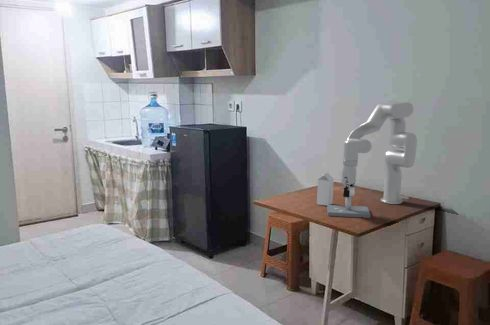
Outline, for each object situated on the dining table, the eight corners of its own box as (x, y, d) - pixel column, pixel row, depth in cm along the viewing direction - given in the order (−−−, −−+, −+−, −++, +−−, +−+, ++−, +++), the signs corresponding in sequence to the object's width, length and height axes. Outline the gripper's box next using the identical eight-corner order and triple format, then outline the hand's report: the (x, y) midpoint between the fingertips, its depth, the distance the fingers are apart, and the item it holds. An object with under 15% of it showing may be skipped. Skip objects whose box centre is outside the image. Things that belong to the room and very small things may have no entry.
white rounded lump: (348, 192, 236) (348, 184, 235) (356, 195, 231) (357, 186, 231) (340, 194, 233) (341, 186, 232) (349, 196, 228) (349, 188, 227)
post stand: (366, 210, 239) (367, 192, 238) (370, 218, 225) (371, 199, 223) (326, 208, 243) (327, 190, 241) (327, 215, 228) (328, 197, 226)
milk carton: (332, 203, 252) (334, 172, 249) (328, 206, 246) (329, 174, 243) (321, 201, 256) (322, 170, 253) (316, 204, 250) (318, 172, 247)
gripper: (349, 160, 238) (347, 191, 241) (337, 164, 224) (335, 198, 227) (362, 161, 234) (360, 193, 237) (351, 166, 220) (349, 200, 223)
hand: (348, 195), depth 232 cm, fingers closed on white rounded lump, 6 cm apart
